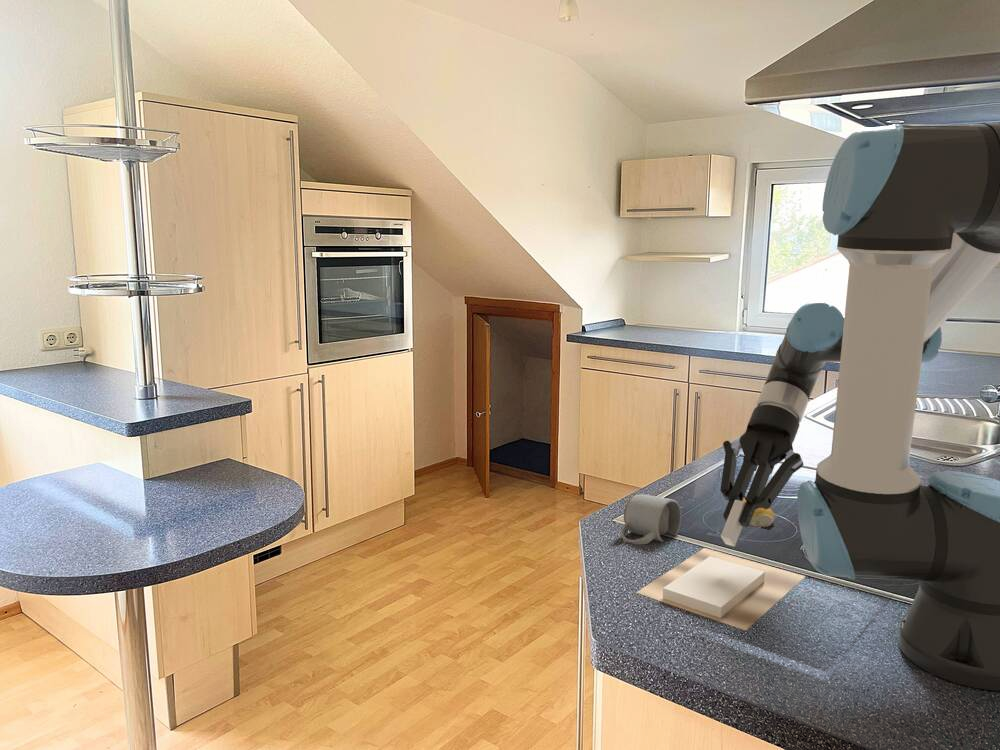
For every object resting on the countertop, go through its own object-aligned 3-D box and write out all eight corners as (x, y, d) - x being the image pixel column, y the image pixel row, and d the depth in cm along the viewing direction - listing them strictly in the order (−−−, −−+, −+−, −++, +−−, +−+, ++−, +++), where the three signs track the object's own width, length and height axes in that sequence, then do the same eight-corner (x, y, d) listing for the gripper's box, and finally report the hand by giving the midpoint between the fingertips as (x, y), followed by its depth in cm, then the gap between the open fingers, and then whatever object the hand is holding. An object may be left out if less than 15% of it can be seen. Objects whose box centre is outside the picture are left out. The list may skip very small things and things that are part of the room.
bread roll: (754, 510, 149) (755, 491, 148) (781, 527, 141) (782, 506, 140) (716, 514, 147) (717, 494, 147) (740, 531, 139) (742, 510, 138)
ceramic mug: (643, 524, 142) (644, 485, 140) (682, 536, 136) (683, 495, 134) (609, 541, 134) (609, 500, 133) (648, 554, 128) (649, 511, 127)
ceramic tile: (710, 556, 121) (663, 588, 110) (764, 571, 115) (721, 607, 104) (709, 565, 122) (662, 598, 110) (764, 582, 116) (720, 618, 105)
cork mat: (704, 552, 129) (704, 547, 129) (805, 581, 118) (805, 576, 118) (635, 597, 113) (636, 592, 112) (745, 635, 101) (745, 630, 101)
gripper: (822, 434, 123) (775, 563, 113) (745, 422, 131) (696, 541, 122) (812, 408, 118) (763, 540, 109) (733, 397, 127) (681, 519, 117)
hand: (727, 541), depth 115 cm, fingers closed
